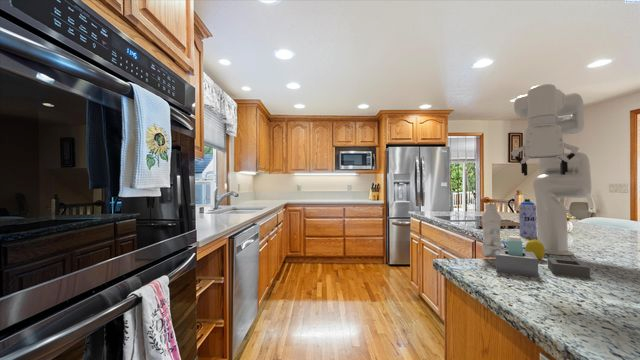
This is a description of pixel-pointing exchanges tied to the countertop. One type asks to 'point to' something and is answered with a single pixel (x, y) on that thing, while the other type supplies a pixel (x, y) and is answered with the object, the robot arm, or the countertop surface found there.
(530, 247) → the lemon
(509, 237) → the plug
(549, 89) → the robot arm
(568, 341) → the countertop surface
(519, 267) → the port block
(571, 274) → the grey square socket
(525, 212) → the aerosol can
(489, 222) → the plastic bottle
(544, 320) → the countertop surface
